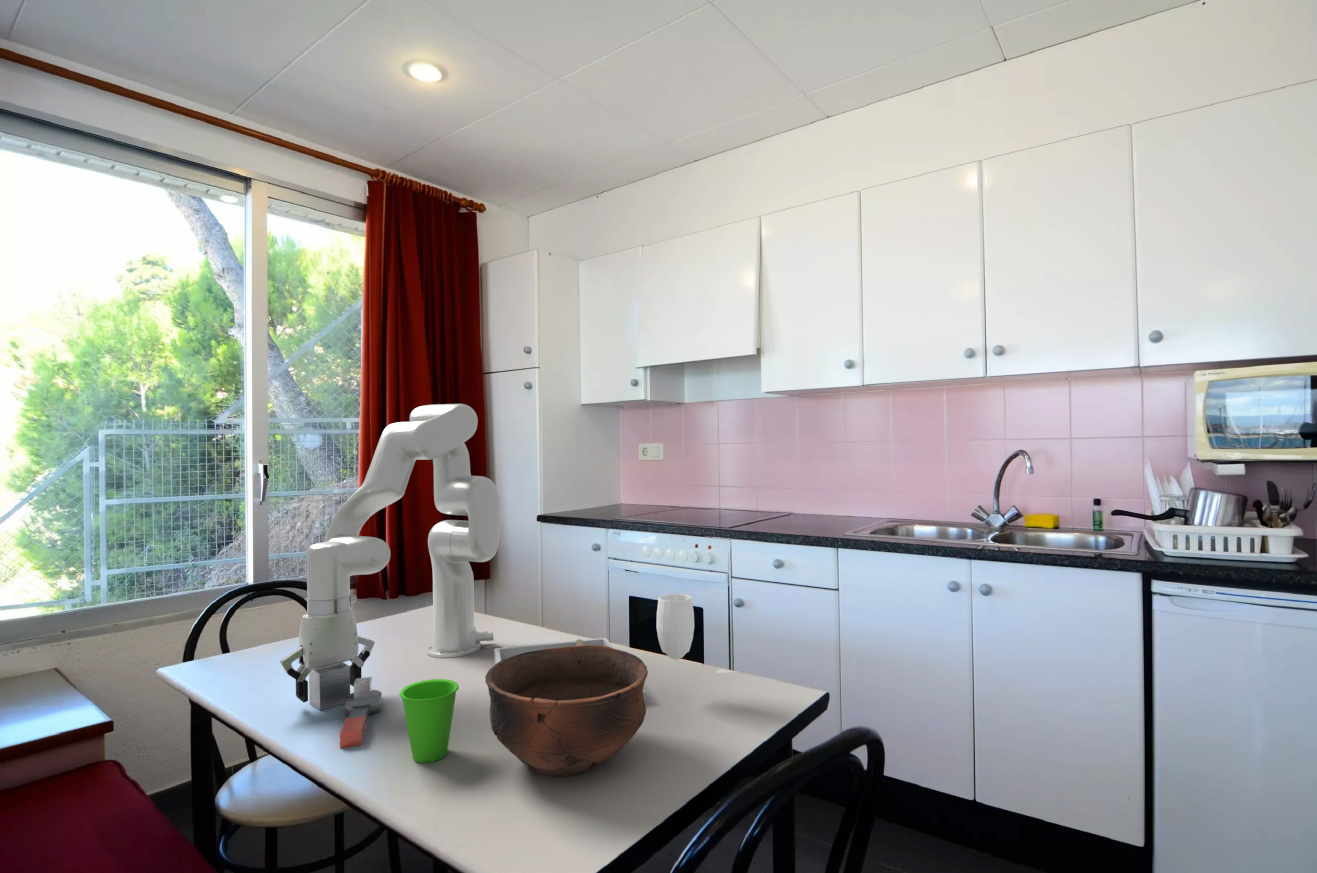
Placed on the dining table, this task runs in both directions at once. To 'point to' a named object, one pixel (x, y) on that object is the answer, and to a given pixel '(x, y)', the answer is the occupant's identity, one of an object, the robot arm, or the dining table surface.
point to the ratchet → (359, 712)
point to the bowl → (566, 706)
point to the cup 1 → (429, 717)
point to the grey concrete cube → (329, 685)
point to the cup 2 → (675, 624)
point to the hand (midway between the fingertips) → (329, 693)
